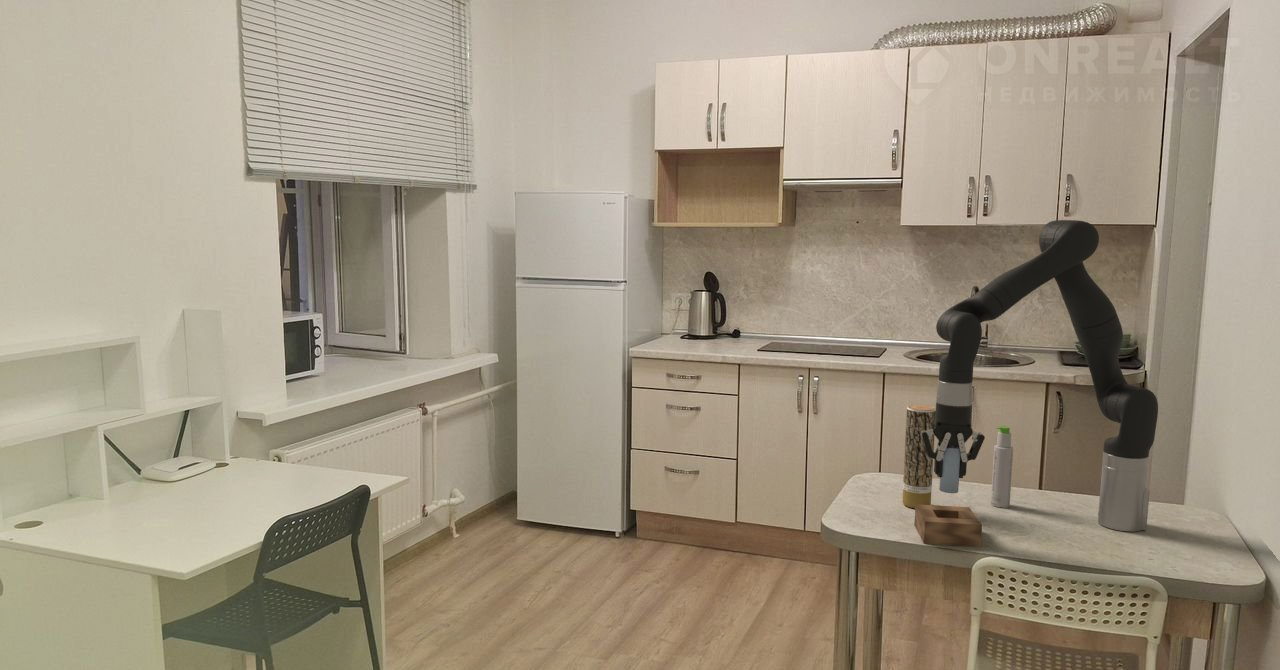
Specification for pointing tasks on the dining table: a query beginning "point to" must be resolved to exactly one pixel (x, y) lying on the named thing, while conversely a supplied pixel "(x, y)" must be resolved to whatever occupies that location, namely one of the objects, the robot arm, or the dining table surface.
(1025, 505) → the dining table surface
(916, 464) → the brown bark cylinder
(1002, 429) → the bottle
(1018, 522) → the dining table surface
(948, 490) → the peg
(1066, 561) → the dining table surface
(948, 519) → the socket block
